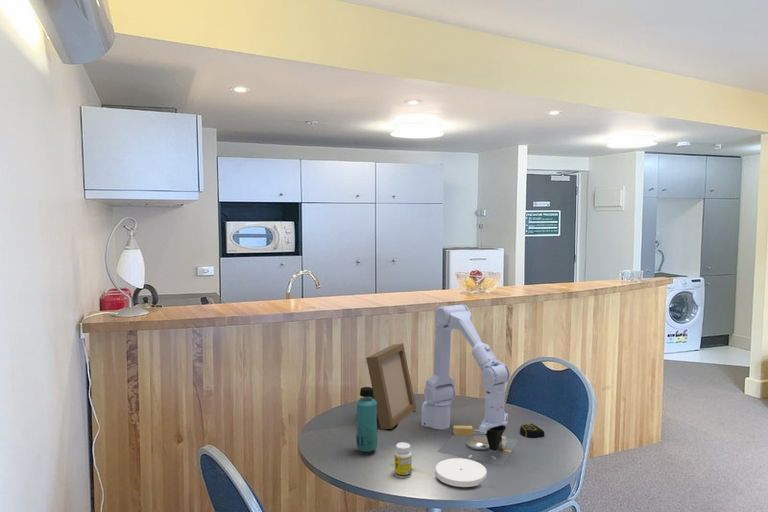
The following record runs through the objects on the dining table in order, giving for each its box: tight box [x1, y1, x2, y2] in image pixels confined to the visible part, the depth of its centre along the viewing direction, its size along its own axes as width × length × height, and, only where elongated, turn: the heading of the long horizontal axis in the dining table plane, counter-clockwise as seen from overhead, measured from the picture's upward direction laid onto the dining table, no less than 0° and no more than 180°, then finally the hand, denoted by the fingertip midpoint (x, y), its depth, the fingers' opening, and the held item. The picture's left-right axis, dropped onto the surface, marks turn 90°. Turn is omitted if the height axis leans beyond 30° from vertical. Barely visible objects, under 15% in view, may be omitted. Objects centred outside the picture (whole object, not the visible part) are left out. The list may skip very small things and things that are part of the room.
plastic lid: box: [434, 457, 488, 488], centre depth 149 cm, size 14×14×2 cm
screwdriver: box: [452, 425, 480, 436], centre depth 176 cm, size 12×2×2 cm, turn 88°
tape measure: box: [519, 423, 545, 439], centre depth 176 cm, size 7×7×4 cm
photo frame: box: [365, 343, 417, 430], centre depth 193 cm, size 15×22×25 cm
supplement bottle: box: [394, 441, 413, 479], centre depth 150 cm, size 5×5×8 cm
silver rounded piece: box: [466, 434, 507, 451], centre depth 166 cm, size 12×8×4 cm, turn 68°
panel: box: [436, 432, 519, 467], centre depth 167 cm, size 20×20×1 cm
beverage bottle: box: [355, 386, 378, 452], centre depth 164 cm, size 6×7×20 cm
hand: (493, 449), depth 160 cm, fingers closed
